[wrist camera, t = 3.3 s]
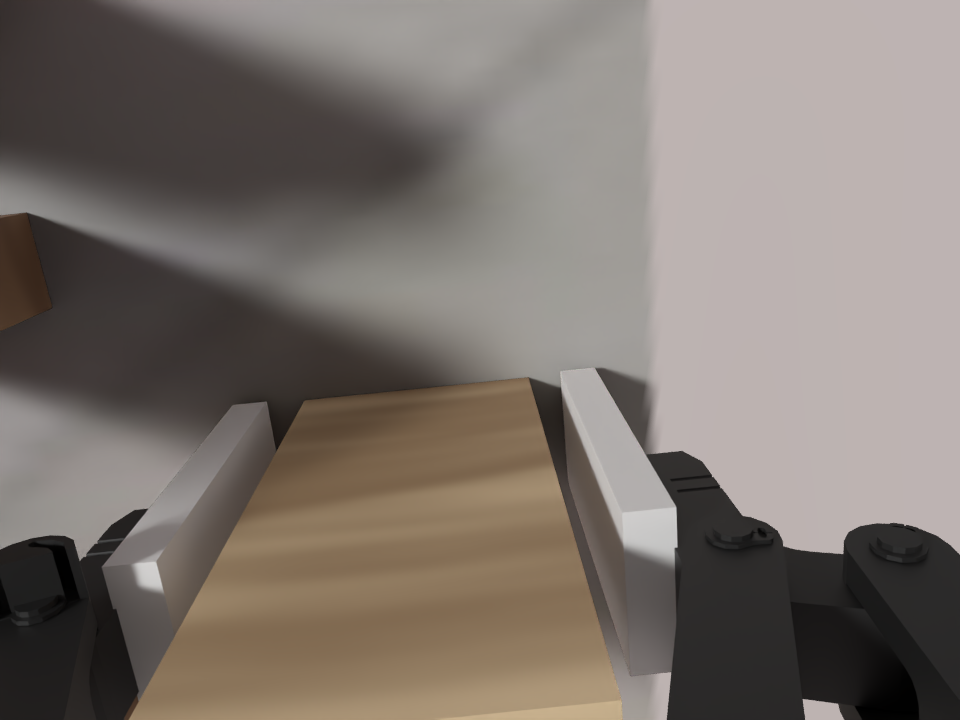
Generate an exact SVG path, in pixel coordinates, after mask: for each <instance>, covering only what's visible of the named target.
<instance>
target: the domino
mask: <svg viewBox="0 0 960 720" xmlns="http://www.w3.org/2000/svg"><path fill="white" fill-rule="evenodd" d="M51 308H52V304H51V301H50V297H49V293H48V290H47V286H46V282H45V278H44V275H43V271H42V267H41V264H40V260H39V256H38V252H37V249H36V245H35V241H34V238H33V234H32V230H31V226H30V223H29V219H28V215H27V213H19V214H10V215H0V331H2V330H4V329H6V328H9V327H11V326H13V325H15V324H18V323H20V322H22V321H24V320H26V319H29V318H31V317H33V316H35V315H38V314H40V313H42V312H44V311H46V310H49V309H51Z"/></svg>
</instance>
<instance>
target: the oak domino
mask: <svg viewBox="0 0 960 720" xmlns="http://www.w3.org/2000/svg"><path fill="white" fill-rule="evenodd" d="M129 720H623V719H622V700H621V697H620V693H619V690H618V686H617V683H616V679H615V676H614V672H613V669H612V665H611V662H610V659H609V655H608V652H607V648H606V645H605V641H604V638H603V634H602V631H601V627H600V624H599V620H598V617H597V613H596V610H595V607H594V603H593V600H592V596H591V593H590V589H589V586H588V582H587V579H586V575H585V572H584V568H583V565H582V561H581V558H580V555H579V551H578V548H577V544H576V541H575V537H574V534H573V530H572V527H571V523H570V520H569V516H568V513H567V509H566V506H565V503H564V499H563V496H562V492H561V489H560V485H559V482H558V478H557V475H556V471H555V468H554V464H553V461H552V457H551V454H550V450H549V447H548V444H547V440H546V437H545V433H544V430H543V426H542V423H541V419H540V416H539V412H538V409H537V405H536V402H535V398H534V395H533V392H532V388H531V385H530V381H529V378H518V379H508V380H499V381H489V382H479V383H469V384H460V385H450V386H440V387H430V388H421V389H411V390H401V391H391V392H382V393H372V394H362V395H352V396H342V397H333V398H323V399H313V400H305V401H304V402H303V404H302V406H301V408H300V410H299V411H298V413H297V415H296V417H295V419H294V421H293V422H292V424H291V426H290V428H289V430H288V431H287V433H286V435H285V437H284V439H283V441H282V442H281V444H280V446H279V448H278V450H277V451H276V453H275V455H274V457H273V459H272V461H271V462H270V464H269V466H268V468H267V470H266V471H265V473H264V475H263V477H262V479H261V480H260V482H259V484H258V486H257V488H256V490H255V491H254V493H253V495H252V497H251V499H250V500H249V502H248V504H247V506H246V508H245V510H244V511H243V513H242V515H241V517H240V519H239V520H238V522H237V524H236V526H235V528H234V530H233V531H232V533H231V535H230V537H229V539H228V540H227V542H226V544H225V546H224V548H223V550H222V551H221V553H220V555H219V557H218V559H217V560H216V562H215V564H214V566H213V568H212V569H211V571H210V573H209V575H208V577H207V579H206V580H205V582H204V584H203V586H202V588H201V589H200V591H199V593H198V595H197V597H196V599H195V600H194V602H193V604H192V606H191V608H190V609H189V611H188V613H187V615H186V617H185V619H184V620H183V622H182V624H181V626H180V628H179V629H178V631H177V633H176V635H175V637H174V639H173V640H172V642H171V644H170V646H169V648H168V649H167V651H166V653H165V655H164V657H163V658H162V660H161V662H160V664H159V666H158V668H157V669H156V671H155V673H154V675H153V677H152V678H151V680H150V682H149V684H148V686H147V688H146V689H145V691H144V693H143V695H142V697H141V698H140V700H139V702H138V704H137V706H136V708H135V709H134V711H133V713H132V715H131V717H130V718H129Z"/></svg>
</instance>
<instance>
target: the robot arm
mask: <svg viewBox="0 0 960 720" xmlns="http://www.w3.org/2000/svg"><path fill="white" fill-rule="evenodd" d="M560 375H561V389H562V403H563V417H564V431H565V445H566V459H567V473H568V484H569V487H570V490H571V493H572V496H573V499H574V502H575V505H576V509H577V512H578V515H579V518H580V521H581V524H582V527H583V530H584V533H585V537H586V540H587V543H588V546H589V549H590V552H591V555H592V558H593V561H594V565H595V568H596V571H597V574H598V577H599V580H600V583H601V586H602V590H603V593H604V596H605V599H606V602H607V605H608V608H609V611H610V614H611V618H612V621H613V624H614V627H615V630H616V633H617V636H618V639H619V643H620V646H621V649H622V652H623V655H624V658H625V661H626V664H627V667H628V671H629V674H630V676H638V675H647V674H657V673H666V672H671V683H670V693H669V703H668V713H667V714H668V715H667V720H805V715H804V707H803V700H802V699H808V700H816V701H824V702H831V703H838V705H839V708H840V712H841V714H842V716H843V718H844V720H960V555H959V554H958V553H957V552H956V551H955V550H954V549H953V548H952V547H951V546H950V545H949V544H948V543H946V542H945V541H943V540H942V539H941V538H939V537H938V536H936V535H933V534H931V533H928V532H926V531H923V530H921V529H918V528H916V527H913V526H909V525H906V526H904V524H897V523H890V524H871V525H865V526H860V527H858V528H856V529H854V530H852V531H850V532H849V533H848V534H847V536H846V538H845V540H844V554H833V553H820V552H809V551H801V550H795V549H790V548H787V547H783V541H782V539H781V537H780V535H779V533H778V531H777V530H775V529H774V528H773V527H771V526H770V525H768V524H767V523H765V522H762V521H759V520H757V519H754V518H751V517H745V516H742V515H741V513H740V512H739V511H738V509H737V508H736V507H735V505H734V504H733V503H732V501H731V500H730V499H729V497H728V496H727V495H726V493H725V492H724V491H723V489H722V488H720V485H719V484H718V483H717V481H716V480H715V479H714V477H712V475H711V473H710V472H709V470H708V469H707V468H706V466H705V465H704V464H703V462H702V461H700V460H698V459H696V458H694V457H692V456H690V455H689V454H687V453H685V452H683V451H679V452H668V453H658V454H649V455H645V453H644V451H643V450H642V448H641V446H640V444H639V443H638V441H637V439H636V438H635V436H634V434H633V433H632V431H631V429H630V427H629V426H628V424H627V422H626V421H625V419H624V417H623V415H622V414H621V412H620V410H619V409H618V407H617V405H616V404H615V402H614V400H613V398H612V397H611V395H610V393H609V392H608V390H607V388H606V387H605V385H604V383H603V381H602V380H601V378H600V376H599V375H598V373H597V371H596V370H595V368H584V369H574V370H565V371H560ZM275 453H276V447H275V442H274V437H273V431H272V426H271V421H270V416H269V410H268V405H267V402H257V403H248V404H238V405H232V406H231V408H230V409H229V410H228V411H227V413H226V414H225V415H224V416H223V418H222V419H221V420H220V421H219V423H218V424H217V425H216V426H215V428H214V429H213V430H212V431H211V432H210V434H209V435H208V436H207V437H206V439H205V440H204V441H203V442H202V444H201V445H200V446H199V447H198V449H197V450H196V451H195V452H194V454H193V455H192V456H191V457H190V458H189V460H188V461H187V462H186V463H185V465H184V466H183V467H182V468H181V470H180V471H179V472H178V473H177V475H176V476H175V477H174V478H173V480H172V481H171V482H170V483H169V484H168V486H167V487H166V488H165V489H164V491H163V492H162V493H161V494H160V496H159V497H158V498H157V499H156V501H155V502H154V503H153V504H152V506H151V507H150V508H149V509H141V510H134V511H132V512H131V513H129V514H128V515H126V516H125V517H123V518H122V519H120V520H119V521H117V522H115V523H114V524H112V525H111V526H110V527H109V528H108V530H107V531H106V532H105V533H104V534H103V535H102V536H101V538H100V539H99V540H98V544H94V546H93V547H92V548H91V549H90V550H89V551H88V553H87V554H86V555H87V556H86V557H83V558H82V559H81V561H79V558H78V554H77V551H76V547H75V544H74V540H72V539H70V538H68V537H66V536H44V537H38V538H32V539H28V540H25V541H22V542H18V543H15V544H12V545H10V546H7V547H5V548H3V549H1V550H0V720H124V717H125V716H126V714H127V712H128V710H129V708H130V707H131V705H132V703H133V701H134V700H135V698H136V696H137V697H138V701H139V700H140V698H141V697H142V695H143V693H144V691H145V689H146V688H147V686H148V684H149V682H150V680H151V678H152V677H153V675H154V673H155V671H156V669H157V668H158V666H159V664H160V662H161V660H162V658H163V657H164V655H165V653H166V651H167V649H168V648H169V646H170V644H171V642H172V640H173V639H174V637H175V635H176V633H177V631H178V629H179V628H180V626H181V624H182V622H183V620H184V619H185V617H186V615H187V613H188V611H189V609H190V608H191V606H192V604H193V602H194V600H195V599H196V597H197V595H198V593H199V591H200V589H201V588H202V586H203V584H204V582H205V580H206V579H207V577H208V575H209V573H210V571H211V569H212V568H213V566H214V564H215V562H216V560H217V559H218V557H219V555H220V553H221V551H222V550H223V548H224V546H225V544H226V542H227V540H228V539H229V537H230V535H231V533H232V531H233V530H234V528H235V526H236V524H237V522H238V520H239V519H240V517H241V515H242V513H243V511H244V510H245V508H246V506H247V504H248V502H249V500H250V499H251V497H252V495H253V493H254V491H255V490H256V488H257V486H258V484H259V482H260V480H261V479H262V477H263V475H264V473H265V471H266V470H267V468H268V466H269V464H270V462H271V461H272V459H273V457H274V455H275Z"/></svg>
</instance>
